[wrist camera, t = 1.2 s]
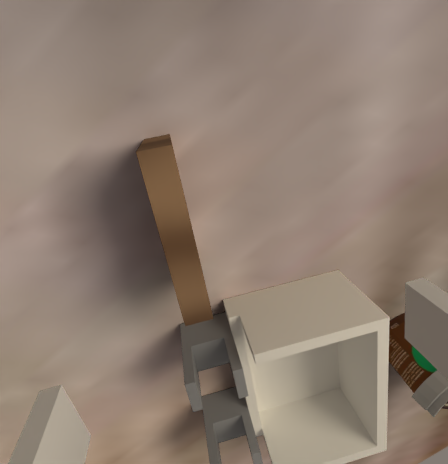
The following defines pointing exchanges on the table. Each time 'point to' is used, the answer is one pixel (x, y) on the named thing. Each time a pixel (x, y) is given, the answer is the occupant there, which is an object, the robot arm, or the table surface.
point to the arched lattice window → (416, 369)
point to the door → (174, 227)
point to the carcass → (295, 372)
